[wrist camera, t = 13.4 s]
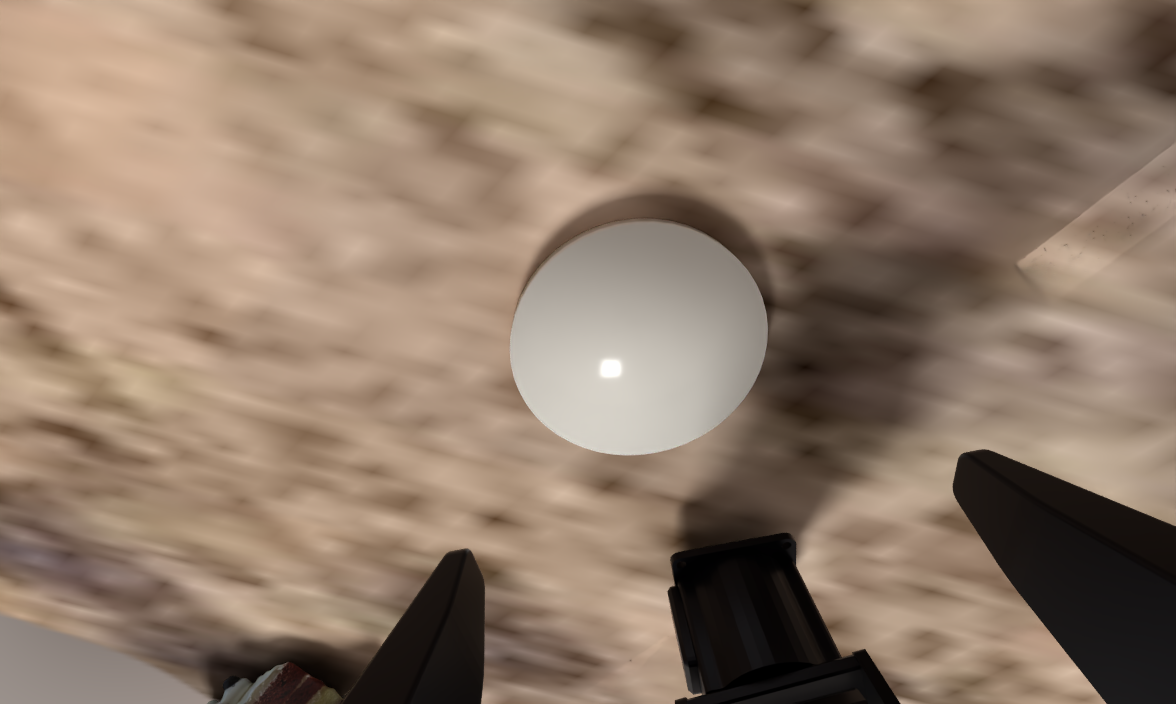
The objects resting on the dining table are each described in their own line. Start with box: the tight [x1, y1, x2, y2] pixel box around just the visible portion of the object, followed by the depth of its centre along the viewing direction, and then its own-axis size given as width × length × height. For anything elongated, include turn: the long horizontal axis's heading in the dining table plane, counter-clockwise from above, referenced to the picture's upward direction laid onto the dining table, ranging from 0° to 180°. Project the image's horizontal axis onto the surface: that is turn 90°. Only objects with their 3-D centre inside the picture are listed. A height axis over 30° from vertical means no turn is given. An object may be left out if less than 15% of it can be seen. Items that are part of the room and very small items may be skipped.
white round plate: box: [510, 218, 768, 455], centre depth 22 cm, size 11×11×1 cm
